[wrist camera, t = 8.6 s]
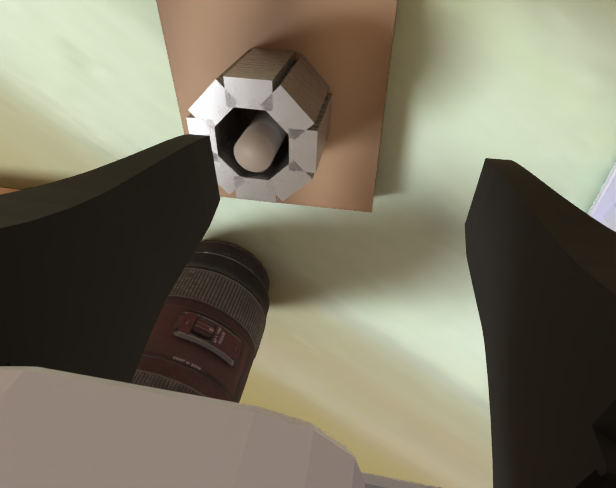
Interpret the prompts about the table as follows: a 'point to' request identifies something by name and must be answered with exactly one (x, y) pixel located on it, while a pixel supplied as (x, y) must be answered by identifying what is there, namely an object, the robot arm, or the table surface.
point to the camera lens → (208, 325)
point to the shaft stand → (304, 40)
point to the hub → (282, 108)
